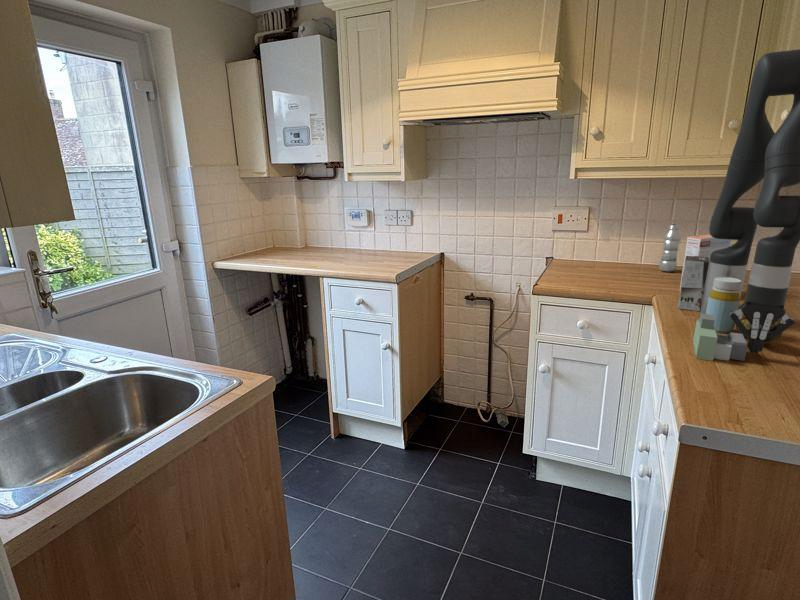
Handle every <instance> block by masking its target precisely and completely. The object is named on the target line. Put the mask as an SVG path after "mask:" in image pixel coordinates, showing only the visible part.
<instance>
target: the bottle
mask: <svg viewBox="0 0 800 600" xmlns="http://www.w3.org/2000/svg"><path fill="white" fill-rule="evenodd" d="M740 286H741V280H739V279H736V278H730V277H715V279H714V283H713V290H712V291H711V293H710V295H709V299H708V305H707V310H706V314H711V315H713V317H714V320H715V322H714V328H715V331H716V333H719V334H727V335H728V334H730V332H731V333H734V330H735V329H734V328H735V326H736V324H735V322H734V321H733V320H732V318H731V317H730V315H729V313H730V312H731V311H736V310H739V308H738V306H739V307H740V303H739V301H741V298H740V295H739V291H740Z"/></svg>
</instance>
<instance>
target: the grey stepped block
mask: <svg viewBox="0 0 800 600" xmlns="http://www.w3.org/2000/svg"><path fill="white" fill-rule="evenodd" d="M717 343H719V344H726V345H731V346H732V348H731V353H730V358H729V360H736V361H742V362H745V360H746V355H747V350H748V346H747V345H748V342H747V341H746V337H744V336H743V334H739V333H738V332H732V333H731V332H730V334H728V337H723V336H717Z"/></svg>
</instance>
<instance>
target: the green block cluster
mask: <svg viewBox="0 0 800 600" xmlns="http://www.w3.org/2000/svg"><path fill="white" fill-rule="evenodd" d="M695 322H696V323H695V328H694V335H693V340H692V343H693V349H694V355H696V356H695V359H698V360H705V361H710V362H713V361H714V359H715V360H721V361H727V362H728V361H729V362H730V359H729V358H730V353H731V348H732V346H731V345H726V344H719V343H717V336H723V337H728V335H727V334H719V333H716V331H715V328H714V322H715V320H714V317H713V315H711V314H703V313H701V316H700V315H699V319H696V321H695Z"/></svg>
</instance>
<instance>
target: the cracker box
mask: <svg viewBox="0 0 800 600" xmlns="http://www.w3.org/2000/svg"><path fill="white" fill-rule="evenodd" d="M730 244H731V240H730V239H717V238H713V237H712V236H711V235H710V234H703V235H690V236H687V237H686V243H685V249H684V250H685V251H684V258H683V263H682V264H683V265H682V272H681V277H680V284H679V295H680V289H681V283H682V277H683V271H684V265H685V259H686V256H700V257H708V259H709V262H710V256H711V253H712V252H713V251H716V250H720V249H724V248H727V247H730V246H731V245H730ZM708 268H709V266H708ZM707 273H708V271H707ZM706 279H707V277H706ZM705 284H706V282H705ZM704 290H705V287H704ZM703 295H704V293H703Z"/></svg>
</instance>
